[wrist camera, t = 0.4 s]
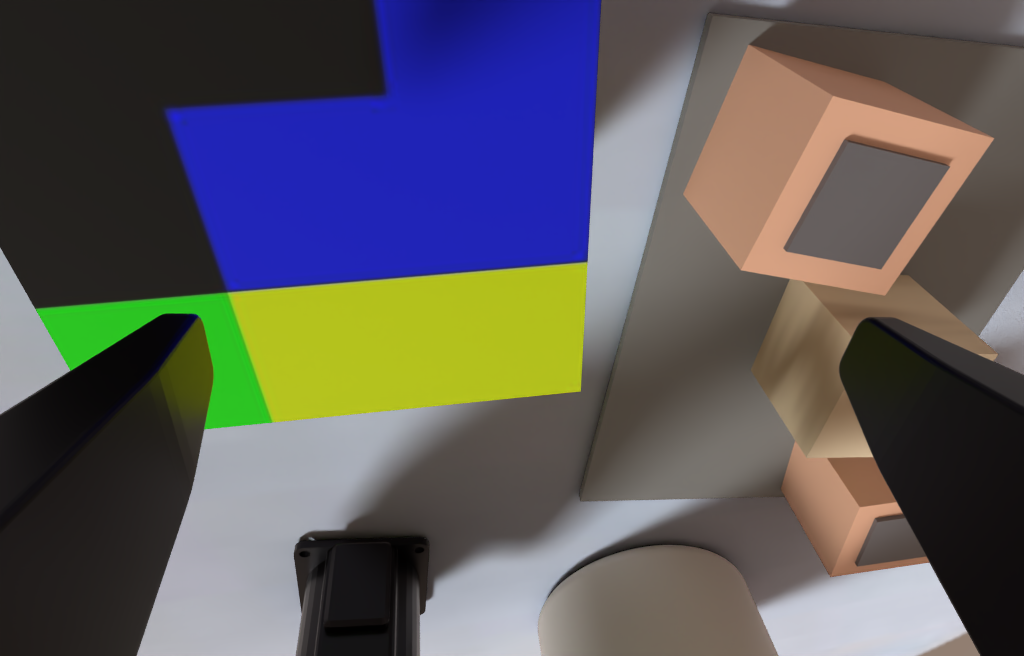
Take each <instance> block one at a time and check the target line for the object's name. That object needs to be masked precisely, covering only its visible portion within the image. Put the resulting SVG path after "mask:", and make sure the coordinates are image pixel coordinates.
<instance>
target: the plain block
mask: <svg viewBox="0 0 1024 656" xmlns="http://www.w3.org/2000/svg"><path fill="white" fill-rule="evenodd" d="M867 317H894V318H897V319H900V320H902V321H904V322H906V323H909V324H911V325H913V326H915V327H917V328H920V329H922V330H924V331H926V332H929V333H931V334H933V335H935V336H938V337H940V338H942V339H944V340H947V341H949V342H951V343H953V344H955V345H958V346H960V347H962V348H964V349H967V350H969V351H971V352H973V353H976V354H978V355H980V356H982V357H984V358H987V359H989V360H991V361H994V360H995V358H996V357H997V355H998V353H996V352H995V351H994V350H993V349H992V348H991V347H990V346H988V345H987V344H986V343H985V342H984V341H983V340H982V339H980V338H979V337H978V336H977V335H976V334H975V333H974V332H972V331H971V330H970V329H969V328H968V327H967V326H966V325H965V324H963V323H962V322H961V321H960V320H959V319H958V318H957V317H955V316H954V315H953V314H952V313H951V312H950V311H949V310H947V309H946V308H945V307H944V306H943V305H942V304H941V303H939V302H938V301H937V300H936V299H935V298H934V297H933V296H932V295H930V294H929V293H928V292H927V291H926V290H925V289H924V288H922V287H921V286H920V285H919V284H918V283H917V282H916V281H914V280H913V279H912V278H911V277H910V276H909V275H899V276H898V278H897V279H896V281H895V282H894V283H893V285H892V286H891V288H890V289H889V291H888V292H887V294H886V295H885V296H884V295H878V294H873V293H867V292H861V291H856V290H850V289H844V288H839V287H833V286H827V285H822V284H816V283H810V282H805V281H799V280H793V279H790V280H789V282H788V285H787V287H786V289H785V292H784V294H783V296H782V299H781V301H780V303H779V306H778V308H777V310H776V313H775V315H774V317H773V319H772V322H771V324H770V326H769V329H768V331H767V333H766V336H765V338H764V340H763V343H762V345H761V347H760V350H759V352H758V354H757V357H756V359H755V361H754V364H753V366H752V368H751V372H752V373H753V375H754V376H755V378H756V379H757V381H758V383H759V384H760V386H761V387H762V389H763V390H764V392H765V394H766V395H767V397H768V398H769V400H770V401H771V403H772V405H773V406H774V408H775V409H776V411H777V412H778V414H779V416H780V417H781V419H782V420H783V422H784V424H785V425H786V427H787V428H788V430H789V431H790V433H791V435H792V436H793V438H794V439H795V441H796V442H797V444H798V446H799V447H800V449H801V450H802V452H803V453H804V455H805V457H806V458H844V457H873V455H872V453H871V451H870V448H869V446H868V444H867V441H866V439H865V436H864V434H863V432H862V429H861V427H860V425H859V422H858V420H857V417H856V415H855V413H854V410H853V408H852V406H851V403H850V401H849V398H848V396H847V394H846V391H845V389H844V386H843V384H842V382H841V379H840V376H839V364H840V360H841V358H842V356H843V354H844V352H845V350H846V348H847V346H848V344H849V342H850V340H851V337H852V335H853V333H854V331H855V329H856V327H857V326H858V324H859V323H860V322H861V321H862V320H863V319H865V318H867Z"/></svg>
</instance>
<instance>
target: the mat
mask: <svg viewBox="0 0 1024 656" xmlns="http://www.w3.org/2000/svg"><path fill="white" fill-rule="evenodd" d="M748 45H752V46H756V47H759V48H763V49H767V50H770V51H774V52H778V53H781V54H785V55H789V56H792V57H796V58H799V59H803V60H807V61H810V62H814V63H818V64H821V65H825V66H829V67H832V68H836V69H840V70H843V71H847V72H850V73H854V74H858V75H861V76H865V77H869V78H872V79H876V80H880V81H883V82H886V83H888V84H890V85H892V86H893V87H895V88H897V89H899V90H901V91H903V92H905V93H907V94H909V95H911V96H913V97H915V98H917V99H919V100H921V101H923V102H925V103H927V104H929V105H931V106H932V107H934V108H936V109H938V110H940V111H942V112H944V113H946V114H948V115H950V116H952V117H954V118H956V119H958V120H960V121H962V122H964V123H966V124H968V125H970V126H971V127H973V128H975V129H977V130H979V131H981V132H983V133H985V134H987V135H989V136H991V137H993V138H994V140H993V141H992V142H991V144H990V145H989V147H988V148H987V150H986V151H985V153H984V154H983V155H982V157H981V158H980V160H979V161H978V163H977V164H976V165H975V167H974V168H973V170H972V171H971V173H970V174H969V176H968V177H967V178H966V180H965V181H964V183H963V184H962V186H961V187H960V189H959V190H958V191H957V193H956V194H955V196H954V197H953V199H952V200H951V201H950V203H949V204H948V206H947V207H946V209H945V210H944V212H943V213H942V214H941V216H940V217H939V219H938V220H937V222H936V223H935V224H934V226H933V227H932V229H931V230H930V232H929V233H928V235H927V236H926V237H925V239H924V240H923V242H922V243H921V245H920V246H919V248H918V249H917V250H916V252H915V253H914V255H913V256H912V258H911V259H910V260H909V262H908V263H907V265H906V266H905V268H904V269H903V271H902V272H901V273H900V275H909V276H910V277H911V278H912V279H913V280H914V281H916V282H917V283H918V284H919V285H920V286H921V287H922V288H924V289H925V290H926V291H927V292H928V293H929V294H930V295H932V296H933V297H934V298H935V299H936V300H937V301H938V302H939V303H941V304H942V305H943V306H944V307H945V308H946V309H947V310H949V311H950V312H951V313H952V314H953V315H954V316H955V317H957V318H958V319H959V320H960V321H961V322H962V323H963V324H965V325H966V326H967V327H968V328H969V329H970V330H971V331H972V332H974V333H975V334H976V335H977V336H979V335H980V333H981V332H982V330H983V329H984V327H985V326H986V324H987V323H988V321H989V320H990V318H991V317H992V315H993V314H994V312H995V311H996V310H997V308H998V307H999V305H1000V304H1001V302H1002V301H1003V299H1004V298H1005V296H1006V295H1007V293H1008V292H1009V290H1010V289H1011V287H1012V286H1013V284H1014V283H1015V281H1016V280H1017V278H1018V277H1019V275H1020V274H1021V272H1022V271H1023V269H1024V47H1020V46H1010V45H1001V44H992V43H983V42H973V41H964V40H955V39H945V38H936V37H927V36H918V35H908V34H899V33H890V32H880V31H871V30H862V29H853V28H843V27H834V26H825V25H815V24H806V23H797V22H788V21H778V20H769V19H760V18H750V17H741V16H732V15H723V14H713V13H708V14H707V18H706V22H705V26H704V29H703V33H702V37H701V41H700V44H699V48H698V52H697V56H696V59H695V63H694V67H693V70H692V74H691V78H690V82H689V85H688V89H687V93H686V97H685V100H684V104H683V108H682V112H681V115H680V119H679V123H678V127H677V130H676V134H675V138H674V141H673V145H672V149H671V153H670V156H669V160H668V164H667V168H666V171H665V175H664V179H663V183H662V186H661V190H660V194H659V197H658V201H657V205H656V209H655V212H654V216H653V220H652V224H651V227H650V231H649V235H648V239H647V242H646V246H645V250H644V254H643V257H642V261H641V265H640V268H639V272H638V276H637V280H636V283H635V287H634V291H633V295H632V298H631V302H630V306H629V310H628V313H627V317H626V321H625V325H624V328H623V332H622V336H621V339H620V343H619V347H618V351H617V354H616V358H615V362H614V366H613V369H612V373H611V377H610V381H609V384H608V388H607V392H606V395H605V399H604V403H603V407H602V410H601V414H600V418H599V422H598V425H597V429H596V433H595V437H594V440H593V444H592V448H591V452H590V455H589V459H588V463H587V466H586V470H585V474H584V478H583V481H582V485H581V489H580V493H579V497H580V501H618V500H661V499H704V498H747V497H785V496H784V494H783V492H782V490H781V487H782V483H783V480H784V477H785V473H786V470H787V466H788V463H789V460H790V456H791V453H792V450H793V446H794V443H795V439H794V438H793V436H792V435H791V433H790V431H789V430H788V428H787V427H786V425H785V424H784V422H783V420H782V419H781V417H780V416H779V414H778V412H777V411H776V409H775V408H774V406H773V405H772V403H771V401H770V400H769V398H768V397H767V395H766V394H765V392H764V390H763V389H762V387H761V386H760V384H759V383H758V381H757V379H756V378H755V376H754V375H753V373H752V372H751V368H752V366H753V364H754V361H755V359H756V357H757V354H758V352H759V350H760V347H761V345H762V343H763V340H764V338H765V336H766V333H767V331H768V329H769V326H770V324H771V322H772V319H773V317H774V315H775V313H776V310H777V308H778V306H779V303H780V301H781V299H782V296H783V294H784V292H785V289H786V287H787V285H788V282H789V280H790V279H788V278H782V277H776V276H771V275H765V274H759V273H754V272H748V271H742V270H740V269H739V267H738V266H737V265H736V263H735V262H734V261H733V259H732V258H731V257H730V255H729V254H728V253H727V251H726V250H725V249H724V248H723V246H722V245H721V244H720V242H719V241H718V240H717V238H716V237H715V236H714V234H713V233H712V232H711V230H710V229H709V228H708V226H707V225H706V224H705V223H704V221H703V220H702V219H701V217H700V216H699V215H698V213H697V212H696V211H695V209H694V208H693V207H692V205H691V204H690V203H689V201H688V200H687V199H686V198H685V196H684V195H683V193H684V191H685V189H686V186H687V184H688V182H689V180H690V177H691V175H692V173H693V170H694V168H695V166H696V164H697V161H698V159H699V157H700V154H701V152H702V150H703V148H704V145H705V143H706V141H707V138H708V136H709V134H710V132H711V129H712V127H713V125H714V122H715V120H716V118H717V116H718V113H719V111H720V109H721V106H722V104H723V102H724V100H725V97H726V95H727V93H728V90H729V88H730V86H731V84H732V81H733V79H734V77H735V74H736V72H737V70H738V68H739V65H740V63H741V61H742V58H743V56H744V54H745V52H746V49H747V47H748Z"/></svg>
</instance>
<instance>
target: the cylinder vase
mask: <svg viewBox="0 0 1024 656" xmlns="http://www.w3.org/2000/svg"><path fill="white" fill-rule="evenodd" d="M538 636H539V643H540V649H541V656H778V654H777V651H776V649H775V647H774V645H773V642H772V640H771V638H770V636H769V634H768V631H767V629H766V627H765V625H764V622H763V620H762V618H761V616H760V613H759V611H758V609H757V607H756V604H755V602H754V600H753V598H752V595H751V593H750V591H749V589H748V586H747V584H746V582H745V580H744V578H743V576H742V575H741V573H740V572H739V571H738V569H737V568H736V567H735V566H734V565H733V564H732V563H730V562H729V561H728V560H726V559H725V558H723V557H721V556H720V555H718V554H715V553H713V552H710V551H708V550H704V549H701V548H696V547H691V546H683V545H655V546H646V547H640V548H635V549H630V550H626V551H622V552H619V553H615V554H612V555H609V556H607V557H604V558H602V559H599V560H597V561H595V562H593V563H590V564H589V565H587V566H585V567H583V568H581V569H580V570H578V571H576V572H575V573H573V574H572V575H570V576H569V577H568V578H566V579H565V580H564V581H563V582H562V583H561V584H560V585H559V586H557V587H556V589H555V590H554V591H553V592H552V593H551V594H550V596H549V597H548V598H547V600H546V602H545V603H544V605H543V607H542V610H541V612H540V616H539V620H538Z"/></svg>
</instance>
